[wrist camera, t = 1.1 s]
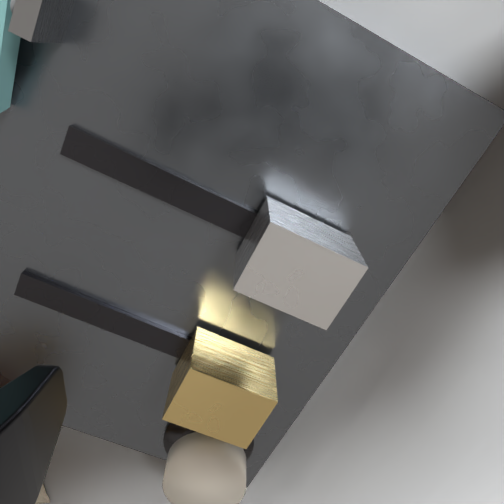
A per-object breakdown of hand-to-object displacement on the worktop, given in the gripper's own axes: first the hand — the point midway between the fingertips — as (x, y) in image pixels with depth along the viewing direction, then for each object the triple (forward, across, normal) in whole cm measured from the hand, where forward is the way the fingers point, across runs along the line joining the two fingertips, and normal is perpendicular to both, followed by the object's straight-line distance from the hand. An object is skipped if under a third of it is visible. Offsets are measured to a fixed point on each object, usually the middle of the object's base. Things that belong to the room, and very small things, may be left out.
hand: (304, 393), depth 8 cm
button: (+10, +2, +13) cm, 17 cm away
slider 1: (+11, +2, +8) cm, 14 cm away
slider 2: (+11, -1, +2) cm, 11 cm away
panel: (+13, +6, +2) cm, 14 cm away
